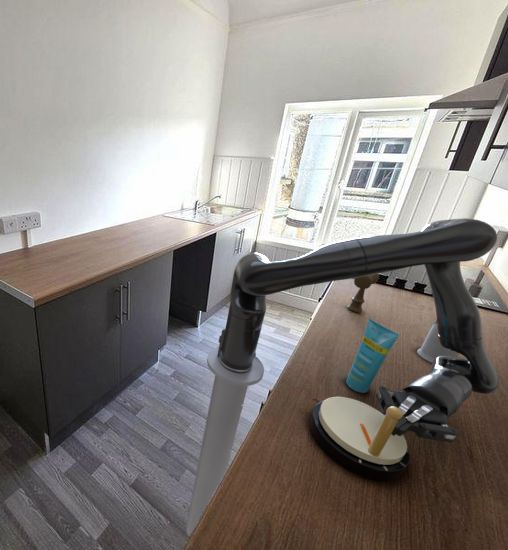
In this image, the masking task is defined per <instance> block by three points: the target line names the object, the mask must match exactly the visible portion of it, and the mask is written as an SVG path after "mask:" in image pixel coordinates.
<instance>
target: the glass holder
mask: <svg viewBox="0 0 508 550" xmlns="http://www.w3.org/2000/svg"><path fill="white" fill-rule="evenodd" d="M416 353H417V354H418V355H419V356H420V358H421V359H424V360H426V361H427V362H429V363H431V364H432V362H433V360H434V359H435V358H436V357H438V356H452V357H458V356H459V355H460V353H457V352H454V351H451V350H449V349H446V348H444V347H442V346H441V345H440V343H439V338H438V327H437V319H436V320H435V321H434V323H433V324H432V326H431V328H430V330H429V332H428V334H427V336H426V337H425V339H424V341H423V343H422V345H421V347H420V348H418V349H417V351H416Z"/></svg>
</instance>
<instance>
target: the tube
mask: <svg viewBox="0 0 508 550" xmlns="http://www.w3.org/2000/svg"><path fill="white" fill-rule="evenodd" d="M399 336H400V333H398V332H396V331H394V330H392V329H390V328H388V327H386V326H384V325H382V324H380V323H378V322H377V321H376V320H373V319H372V318H371V317H369V318H368V321H367V324H366V328H365V330H364V334H363V336H362V339H361V343H360V344H359V348H358V349H357V352H356V355H355V358H354V361H353V363H352V366H351V368H350V371H349V373H348V376H347V378H346V381H345V383H346V385H347V386H348V388H350V389H351V390H352V391H355V392H357V393H361V394H365V393H367V392H368V391H369V389H370V388H371V386H372V384H373V381H374V380H375V378H376V376H377V375H378V372H379V371H380V368H381V367H382V365H383V363H384V361H385V360H386V358H387V356H388V354H389V353H390V351H391V349H392V347H393V346H394V344H395V342H397V340H398V338H399Z"/></svg>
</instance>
